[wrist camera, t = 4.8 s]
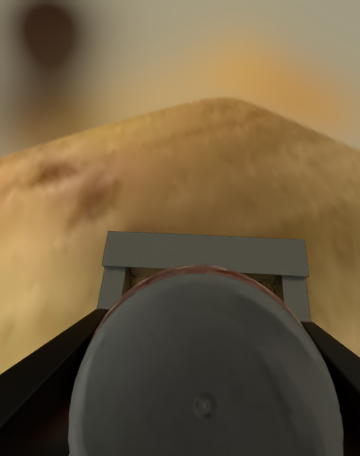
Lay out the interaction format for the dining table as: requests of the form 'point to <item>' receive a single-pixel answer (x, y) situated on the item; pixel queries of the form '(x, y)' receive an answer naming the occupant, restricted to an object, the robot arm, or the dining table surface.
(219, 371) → the supplement bottle
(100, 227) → the dining table surface
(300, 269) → the grey rectangular frame
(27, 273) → the dining table surface
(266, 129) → the dining table surface
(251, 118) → the dining table surface
